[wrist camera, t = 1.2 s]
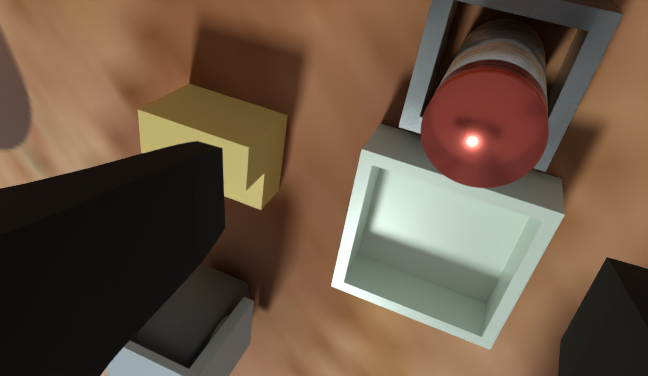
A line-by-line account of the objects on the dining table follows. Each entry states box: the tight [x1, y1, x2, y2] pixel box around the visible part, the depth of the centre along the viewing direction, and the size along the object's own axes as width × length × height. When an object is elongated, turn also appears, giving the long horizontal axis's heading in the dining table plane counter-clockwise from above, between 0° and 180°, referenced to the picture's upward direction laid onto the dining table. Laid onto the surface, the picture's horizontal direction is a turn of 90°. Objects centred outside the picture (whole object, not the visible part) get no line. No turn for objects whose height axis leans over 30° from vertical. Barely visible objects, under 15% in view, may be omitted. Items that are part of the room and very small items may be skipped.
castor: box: [107, 264, 254, 376], centre depth 25 cm, size 5×6×7 cm
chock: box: [138, 84, 288, 210], centre depth 21 cm, size 5×4×4 cm
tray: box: [331, 123, 565, 350], centre depth 19 cm, size 7×7×2 cm
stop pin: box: [421, 18, 549, 188], centre depth 13 cm, size 3×3×6 cm
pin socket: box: [399, 0, 623, 172], centre depth 15 cm, size 5×5×2 cm
